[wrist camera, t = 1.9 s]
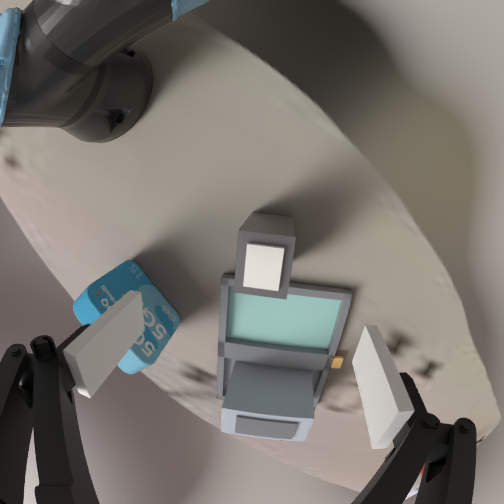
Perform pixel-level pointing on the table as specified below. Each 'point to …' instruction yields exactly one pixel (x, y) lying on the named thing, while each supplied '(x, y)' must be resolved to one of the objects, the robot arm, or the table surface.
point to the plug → (265, 255)
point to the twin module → (268, 402)
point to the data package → (154, 312)
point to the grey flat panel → (281, 331)
